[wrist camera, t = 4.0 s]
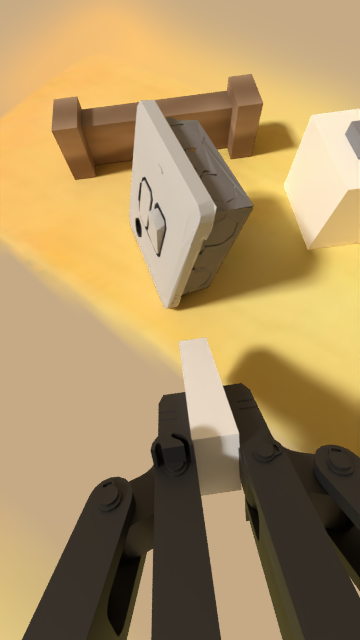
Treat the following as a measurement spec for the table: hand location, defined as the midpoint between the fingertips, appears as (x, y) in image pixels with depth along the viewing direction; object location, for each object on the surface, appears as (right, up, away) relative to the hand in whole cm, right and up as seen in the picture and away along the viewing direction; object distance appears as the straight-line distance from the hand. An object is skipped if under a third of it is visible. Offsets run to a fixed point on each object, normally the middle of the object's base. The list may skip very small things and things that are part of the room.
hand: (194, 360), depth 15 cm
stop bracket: (-3, +19, +11) cm, 23 cm away
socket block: (+12, +12, +8) cm, 19 cm away
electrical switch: (-1, +8, +7) cm, 11 cm away
